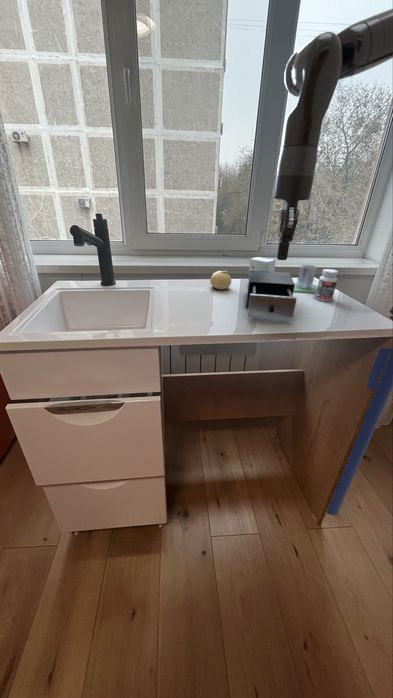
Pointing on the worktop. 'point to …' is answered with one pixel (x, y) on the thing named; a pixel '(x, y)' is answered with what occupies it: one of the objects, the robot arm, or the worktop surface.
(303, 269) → the steel tumbler
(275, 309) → the drawer
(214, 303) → the worktop surface
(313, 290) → the drying pad
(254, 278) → the box
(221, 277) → the onion
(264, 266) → the small box
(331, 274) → the pill bottle
